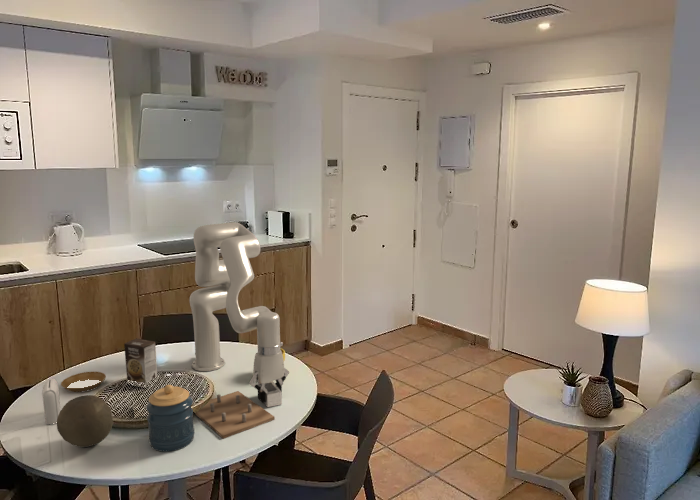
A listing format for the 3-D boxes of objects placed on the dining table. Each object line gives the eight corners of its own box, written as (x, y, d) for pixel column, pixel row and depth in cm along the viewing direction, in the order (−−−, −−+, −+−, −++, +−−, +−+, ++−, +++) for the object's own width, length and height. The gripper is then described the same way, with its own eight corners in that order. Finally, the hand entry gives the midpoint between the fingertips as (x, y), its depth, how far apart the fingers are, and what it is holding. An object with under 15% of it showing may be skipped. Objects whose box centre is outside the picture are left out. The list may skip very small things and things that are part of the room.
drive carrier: (258, 394, 189) (258, 382, 188) (272, 391, 191) (272, 379, 190) (267, 407, 180) (267, 394, 179) (281, 404, 182) (281, 391, 181)
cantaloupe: (79, 431, 165) (74, 386, 162) (123, 434, 164) (119, 388, 161) (49, 457, 151) (44, 408, 149) (97, 460, 150) (92, 411, 147)
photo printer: (46, 412, 177) (42, 376, 175) (61, 409, 179) (57, 374, 177) (44, 426, 168) (40, 389, 166) (60, 423, 170) (56, 386, 168)
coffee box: (126, 385, 197) (123, 343, 194) (139, 378, 203) (136, 337, 200) (146, 389, 194) (142, 346, 191) (158, 382, 200) (155, 340, 197)
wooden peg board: (189, 409, 179) (189, 399, 179) (238, 393, 191) (237, 384, 190) (223, 438, 161) (222, 428, 161) (274, 419, 173) (274, 409, 172)
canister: (195, 448, 156) (191, 391, 153) (147, 455, 152) (143, 397, 149) (194, 426, 168) (191, 373, 165) (150, 432, 165) (146, 378, 161)
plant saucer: (51, 392, 192) (51, 385, 192) (83, 375, 206) (82, 369, 206) (85, 397, 188) (84, 390, 188) (115, 380, 202) (114, 374, 201)
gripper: (284, 339, 190) (285, 387, 194) (240, 351, 179) (242, 401, 183) (296, 345, 184) (296, 394, 188) (252, 358, 174) (253, 409, 177)
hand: (270, 397), depth 185 cm, fingers closed on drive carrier, 5 cm apart
